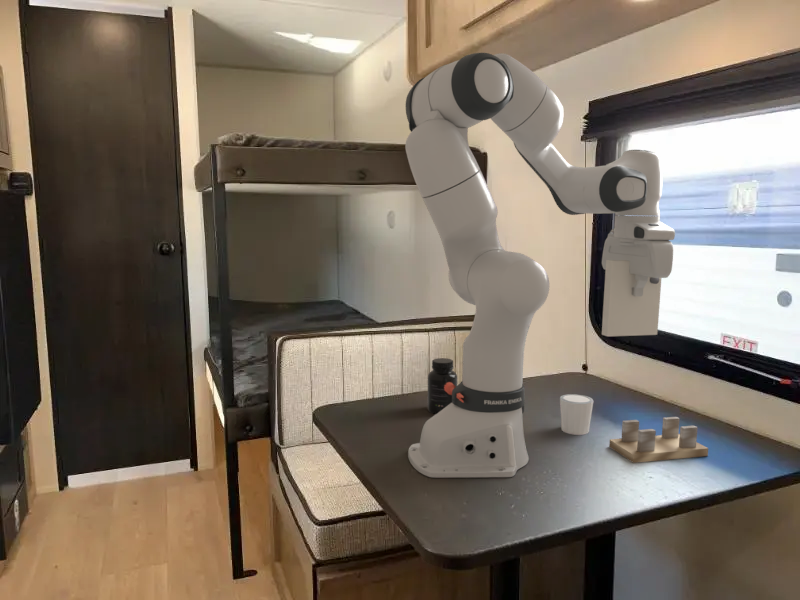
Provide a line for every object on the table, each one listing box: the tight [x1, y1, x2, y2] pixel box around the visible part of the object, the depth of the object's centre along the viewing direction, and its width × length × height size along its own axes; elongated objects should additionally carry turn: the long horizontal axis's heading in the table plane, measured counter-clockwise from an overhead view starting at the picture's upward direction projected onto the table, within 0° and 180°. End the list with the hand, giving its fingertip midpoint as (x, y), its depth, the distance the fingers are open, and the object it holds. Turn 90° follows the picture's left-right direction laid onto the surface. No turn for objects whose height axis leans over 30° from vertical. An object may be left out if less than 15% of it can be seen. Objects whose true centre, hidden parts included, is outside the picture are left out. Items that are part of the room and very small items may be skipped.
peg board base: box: [608, 416, 709, 464], centre depth 119 cm, size 16×8×6 cm, turn 103°
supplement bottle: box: [427, 357, 458, 415], centre depth 142 cm, size 7×7×12 cm
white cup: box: [559, 393, 594, 436], centre depth 131 cm, size 7×7×7 cm
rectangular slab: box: [601, 260, 662, 337], centre depth 131 cm, size 12×3×16 cm, turn 103°
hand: (631, 294), depth 132 cm, fingers closed on rectangular slab, 2 cm apart
